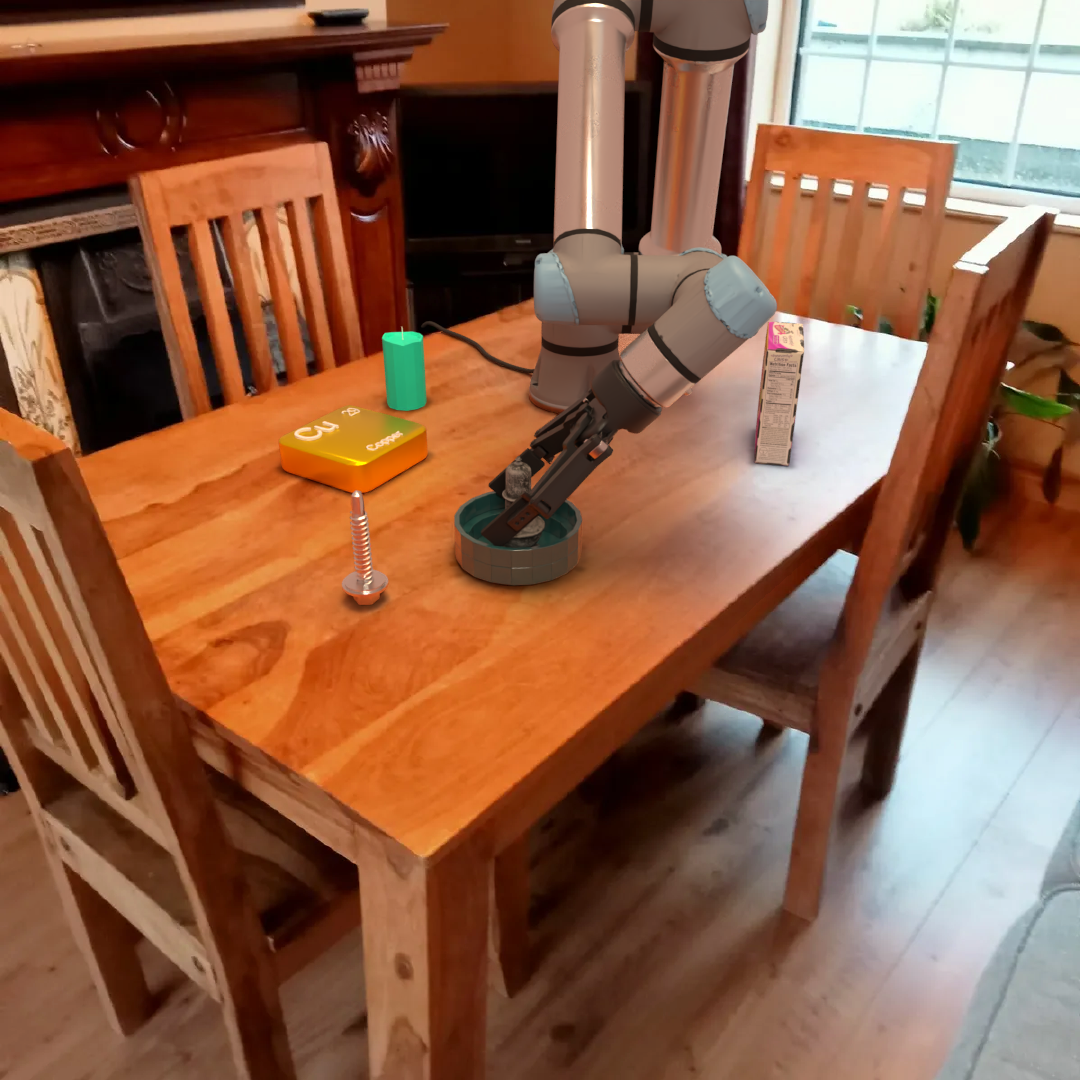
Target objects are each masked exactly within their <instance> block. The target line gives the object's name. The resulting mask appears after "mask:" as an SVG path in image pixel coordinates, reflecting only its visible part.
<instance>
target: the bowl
mask: <svg viewBox="0 0 1080 1080" xmlns="http://www.w3.org/2000/svg"><path fill="white" fill-rule="evenodd" d="M543 501H544V500H543ZM504 510H505V500H504V499H502V498H501V497H500V496H499V495H498V494H497V493H496V492H494V491H493V490H492V491H488V492H487V491H486V492H484V493H482V494H479V495H476V496H474V497H471V498H470V499H468V500H466V501H465V502H464V503H463V504H461V505H460V506H459V507H458V508H457V510H456V512H455V513H454V516H453V517H454V518H453V520H454V521H453V523H454V528H453V529H454V548H455V559H456V561H457V563H458V564H459V565H460V567H461V569H462V570H464V571H465V572H467V573H468V574H470V576H473V577H474V578H477V579H480V580H483V581H486V582H488V583H491V584H498V585H499V584H500V585H506V586H507V585H508V586H532V585H536V584H542V583H545V582H551V581H553V580H556V579H558V578H560V577H562V576H565V575H567V574H569V572H571V570H573V569H574V568H575V567H576V566H577V565H578V564H579V561H580V559H581V556H582V552H583V551H582V550H583V549H582V546H583V517H582V513H581V510H580V509H579V508H578V507H577V506H576V505H575V504H574V503H573V502H572V501H570V500H568V498H567V499H566V501H565V502H564V503H563V504H562V505H561V506H560V507H559V508H558V509H557V510H556V511H555V512H554V513H553V514H552V516H551V517H549V518H548V519H545V518H544V517H543V516H542V515H541V514H540V515H538V516H539V517H541V518H542V519H543V520H544V522H545V527H544V529H543V531H542V534H541V537H540V539H539V541H538V542H537V544H539V546H534V547H521V548H509V547H502V546H494V545H493V544H492V543H491V542H490V541H489V540H487V539H486V538H485V537H484V536H483V535H481V530H482V529H484V528H485V527H486V526H487V525H488V524H489V523H490V522H491V521H493V520H494V519H495V518H496V517H497V516H498V515H499V514H500V513H502V512H503V511H504Z"/></svg>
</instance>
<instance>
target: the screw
mask: <svg viewBox="0 0 1080 1080" xmlns="http://www.w3.org/2000/svg"><path fill="white" fill-rule="evenodd" d="M350 507H351V510H350V511H349V513H350V514H351V515H350V516H349V519H350V520H351V521H349V524H350V525H351V526H350V530H351V532H350V535H352V536H351V540H352V543H351V544H352V550H353V552H352V554H353V555H354V556H353V559H354V561H353V564H354V565H355V566H354V569H355V571H352V572H351V573H349V574H347V575H346V576H345V577H344V578H343V579H342V581H341V588H342V591H343V592H344V593H345V594H347V595H349V596H352V598H353V600H354V601H355V602H356V603H357V604H358V605H359V606H366V605H367V606H369V605H371V606H372V605H373V604H375V603H376V602H377V601H378V600H379V599H381V595H380V594H381V593H383V592H384V591H385V590H386V589H387V588H388V587H389V578H388V576H387V575H386V574H385V573H383V572H381V571H380V570H376V569H374V567H373V561H372V560H373V557H372V547H371V537H370V535H371V532H369V531H370V527H369V526H370V522H368V521H369V516H368V512H367V511H366V509H365V500H364V495H363V493H362V492H361V491H358V490H356V491H354V492H353V493H351V497H350Z"/></svg>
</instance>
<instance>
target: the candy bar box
mask: <svg viewBox="0 0 1080 1080" xmlns="http://www.w3.org/2000/svg"><path fill="white" fill-rule="evenodd" d="M804 333H805V332H804V324H803V323H795V322H783V321H781V322H780V321H767V325H766V334H765V341H764V347H763V357H762V367H761V375H760V384H759V392H758V401H757V402H758V403H757V411H756V412H757V413H756V421H755V423H756V424H755V436H754V438H755V439H754V463H755V464H761V465H772V466H786V467H788V466H790V463H791V454H792V447H793V440H794V434H795V433H794V432H795V427H796V426H795V425H796V418H797V417H796V416H797V410H798V401H799V393H800V386H801V379H802V371H803V363H804V355H805V335H804Z"/></svg>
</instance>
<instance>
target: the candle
mask: <svg viewBox="0 0 1080 1080" xmlns="http://www.w3.org/2000/svg"><path fill="white" fill-rule="evenodd" d="M400 327H401V331H391V332H384V334H383V335H382V337H381V340H382V341H381V342H382V343H381V344H382V354H383V355H382V356H383V367H384V377H385V378H384V379H385V380H384V381H385V392H386V393H385V395H386V403H387V404H386V405H387V406H388V408H390V409H392V410H396V411H403V412H404V411H406V412H407V411H414V410H415V411H416V410H419V409H422V408H423V407H425V406H426V404H427V401H428V400H427V399H428V398H427V381H426V380H427V379H426V363H425V347H424V346H425V345H424V344H425V343H424V335H423V334H422V333H420V332H416V331H404V328H403V326H400Z"/></svg>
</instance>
